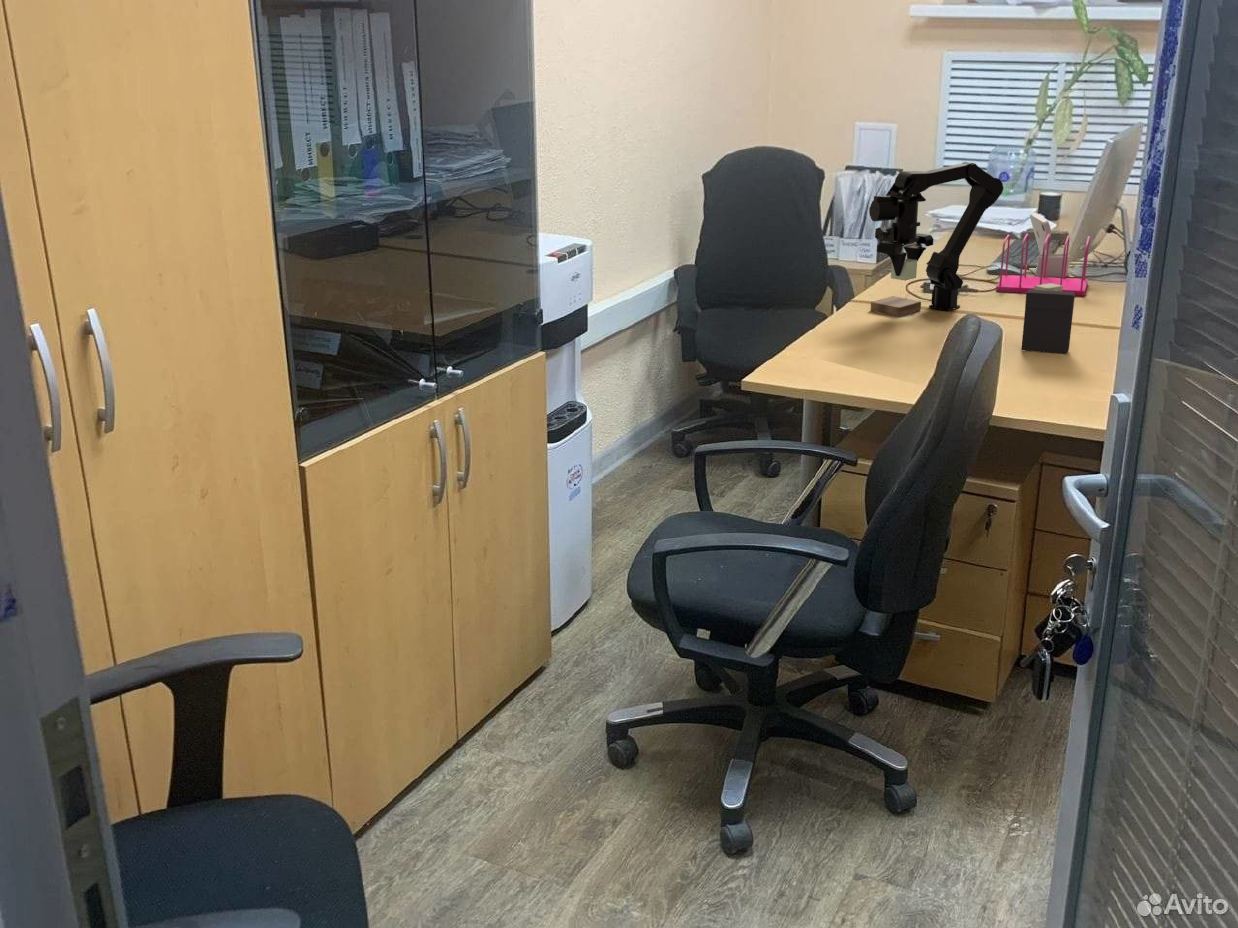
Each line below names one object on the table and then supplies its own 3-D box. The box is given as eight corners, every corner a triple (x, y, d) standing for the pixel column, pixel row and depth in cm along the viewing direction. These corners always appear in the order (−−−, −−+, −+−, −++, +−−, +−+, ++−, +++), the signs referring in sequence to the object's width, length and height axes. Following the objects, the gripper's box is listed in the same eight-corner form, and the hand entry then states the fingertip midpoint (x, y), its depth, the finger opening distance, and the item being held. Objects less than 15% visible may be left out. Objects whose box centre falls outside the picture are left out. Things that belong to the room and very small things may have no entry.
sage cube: (916, 277, 324) (917, 260, 322) (905, 280, 321) (906, 263, 319) (901, 275, 328) (902, 258, 326) (890, 278, 325) (891, 260, 323)
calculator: (1068, 350, 287) (1075, 291, 281) (1067, 355, 283) (1074, 295, 278) (1022, 347, 291) (1028, 288, 286) (1020, 351, 287) (1026, 292, 282)
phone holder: (1070, 276, 364) (1076, 219, 357) (1037, 277, 364) (1043, 220, 358) (1054, 265, 380) (1060, 210, 373) (1023, 266, 380) (1028, 211, 374)
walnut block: (920, 311, 330) (921, 301, 329) (898, 318, 324) (899, 307, 323) (892, 306, 337) (892, 296, 336) (870, 312, 331) (871, 302, 330)
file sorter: (1084, 297, 338) (1090, 244, 333) (995, 292, 348) (1000, 240, 342) (1087, 284, 353) (1093, 233, 347) (1002, 280, 363) (1006, 230, 357)
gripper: (903, 211, 330) (900, 265, 335) (862, 220, 319) (859, 275, 324) (936, 215, 322) (932, 270, 327) (895, 224, 311) (892, 281, 316)
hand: (903, 274), depth 324 cm, fingers closed on sage cube, 5 cm apart
